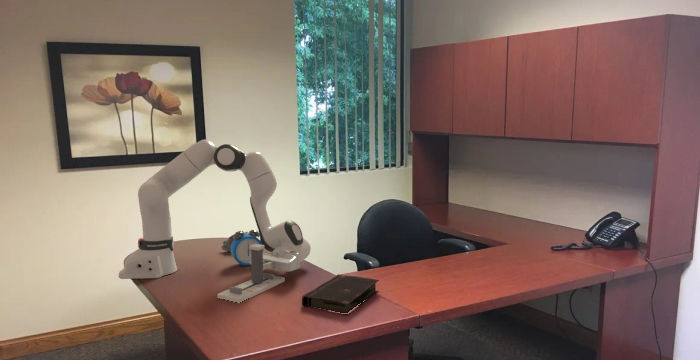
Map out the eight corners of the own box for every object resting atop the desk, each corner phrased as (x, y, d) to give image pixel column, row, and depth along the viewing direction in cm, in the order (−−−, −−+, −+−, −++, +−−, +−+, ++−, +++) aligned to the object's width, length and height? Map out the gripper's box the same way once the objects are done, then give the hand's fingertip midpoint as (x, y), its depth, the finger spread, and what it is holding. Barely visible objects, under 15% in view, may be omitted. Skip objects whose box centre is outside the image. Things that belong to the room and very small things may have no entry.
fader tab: (256, 279, 190) (255, 243, 188) (265, 281, 187) (264, 245, 185) (250, 282, 186) (248, 245, 185) (259, 284, 184) (258, 247, 182)
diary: (301, 308, 169) (300, 294, 168) (336, 285, 190) (336, 273, 190) (349, 318, 160) (349, 303, 159) (381, 293, 182) (380, 279, 181)
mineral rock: (220, 252, 234) (219, 231, 232) (234, 247, 244) (233, 227, 242) (243, 255, 229) (242, 234, 227) (256, 249, 239) (255, 229, 237)
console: (264, 277, 198) (264, 268, 198) (284, 281, 193) (284, 272, 193) (217, 298, 176) (217, 288, 176) (238, 303, 171) (238, 293, 171)
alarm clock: (234, 268, 210) (232, 233, 208) (230, 264, 215) (229, 230, 213) (264, 264, 215) (263, 230, 213) (260, 260, 221) (259, 227, 219)
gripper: (261, 246, 204) (238, 255, 192) (302, 253, 194) (280, 262, 182) (262, 261, 205) (239, 270, 193) (302, 269, 195) (281, 279, 183)
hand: (259, 267), depth 188 cm, fingers closed, pressing on fader tab
